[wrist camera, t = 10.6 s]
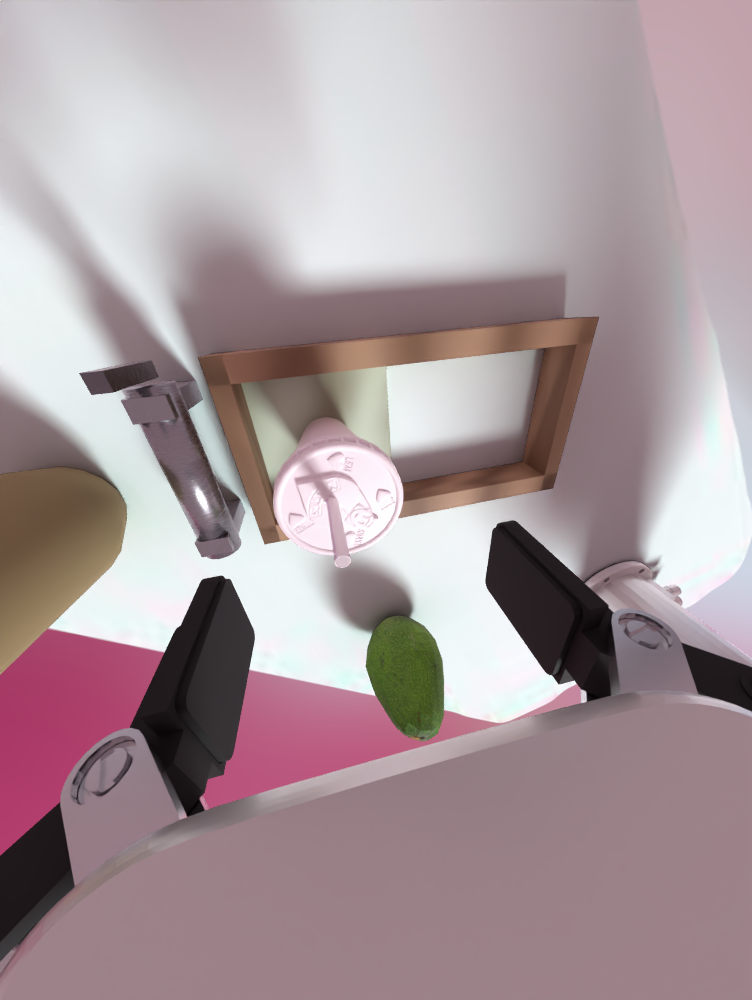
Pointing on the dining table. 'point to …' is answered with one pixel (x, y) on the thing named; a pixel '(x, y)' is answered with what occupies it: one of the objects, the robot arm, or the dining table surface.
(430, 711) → the avocado
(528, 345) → the bay
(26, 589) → the squeeze bottle
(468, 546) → the dining table surface
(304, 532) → the smoothie
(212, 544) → the grey metal handle
